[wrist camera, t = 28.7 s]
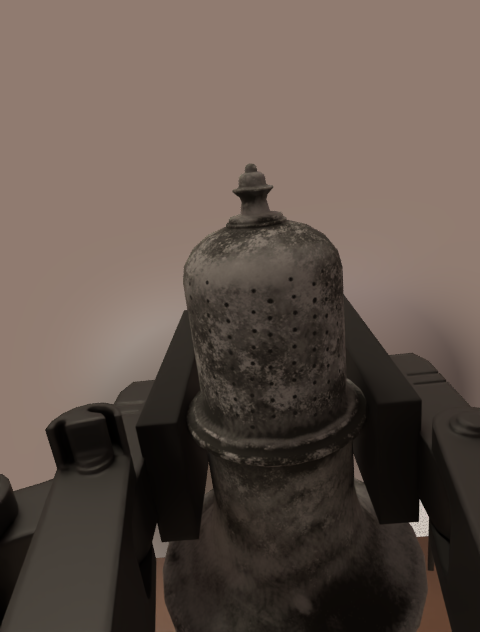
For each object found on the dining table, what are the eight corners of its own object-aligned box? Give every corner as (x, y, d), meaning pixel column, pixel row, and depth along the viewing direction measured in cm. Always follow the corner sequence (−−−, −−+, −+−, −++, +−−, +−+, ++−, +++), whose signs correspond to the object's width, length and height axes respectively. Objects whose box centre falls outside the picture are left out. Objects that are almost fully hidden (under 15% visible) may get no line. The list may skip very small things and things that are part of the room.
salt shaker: (243, 535, 15) (189, 170, 11) (429, 588, 12) (447, 139, 8) (139, 733, 10) (-27, 197, 6) (413, 888, 7) (438, 141, 4)
